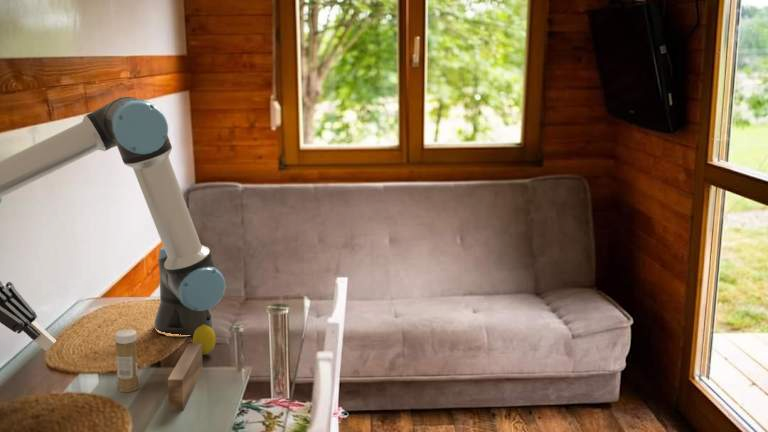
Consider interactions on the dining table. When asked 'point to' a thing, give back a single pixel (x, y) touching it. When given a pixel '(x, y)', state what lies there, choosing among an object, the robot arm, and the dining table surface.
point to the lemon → (205, 338)
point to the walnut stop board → (185, 376)
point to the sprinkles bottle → (126, 360)
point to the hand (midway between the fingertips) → (51, 345)
